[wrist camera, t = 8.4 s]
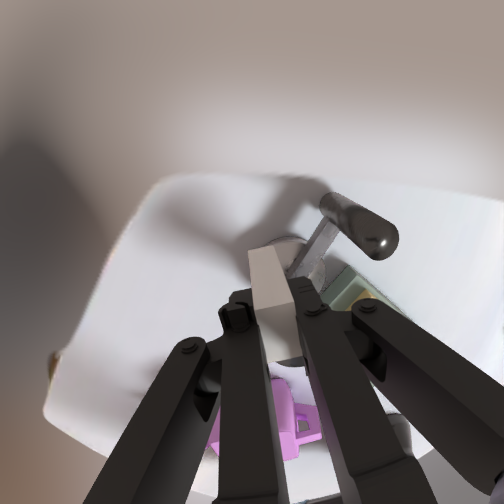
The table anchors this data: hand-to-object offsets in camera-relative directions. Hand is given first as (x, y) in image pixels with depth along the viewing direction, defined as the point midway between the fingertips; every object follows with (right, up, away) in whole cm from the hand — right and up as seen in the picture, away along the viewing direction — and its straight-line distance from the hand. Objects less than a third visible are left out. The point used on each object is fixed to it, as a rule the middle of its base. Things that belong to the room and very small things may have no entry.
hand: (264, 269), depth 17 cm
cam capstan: (+4, +1, +11) cm, 12 cm away
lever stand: (+12, -9, +16) cm, 22 cm away
